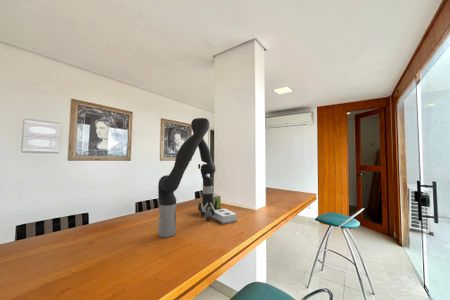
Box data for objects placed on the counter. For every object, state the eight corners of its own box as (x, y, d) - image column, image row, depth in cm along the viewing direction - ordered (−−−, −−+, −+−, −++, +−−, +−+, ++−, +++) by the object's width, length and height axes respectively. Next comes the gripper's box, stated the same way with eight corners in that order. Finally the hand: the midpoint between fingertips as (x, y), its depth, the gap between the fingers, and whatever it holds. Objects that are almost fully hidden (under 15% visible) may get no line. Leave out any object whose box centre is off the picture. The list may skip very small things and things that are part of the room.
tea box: (202, 211, 152) (202, 193, 152) (213, 210, 156) (213, 192, 156) (208, 216, 138) (208, 196, 139) (221, 215, 142) (221, 195, 143)
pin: (206, 221, 128) (206, 208, 128) (204, 220, 130) (204, 207, 131) (210, 220, 129) (210, 207, 130) (208, 219, 132) (208, 206, 132)
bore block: (223, 224, 122) (223, 216, 122) (212, 217, 136) (212, 210, 136) (236, 221, 128) (236, 214, 128) (224, 215, 142) (224, 208, 142)
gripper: (200, 194, 124) (200, 219, 123) (219, 192, 131) (219, 216, 130) (196, 192, 130) (196, 216, 129) (214, 190, 137) (214, 213, 137)
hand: (207, 216), depth 130 cm, fingers open, 7 cm apart
